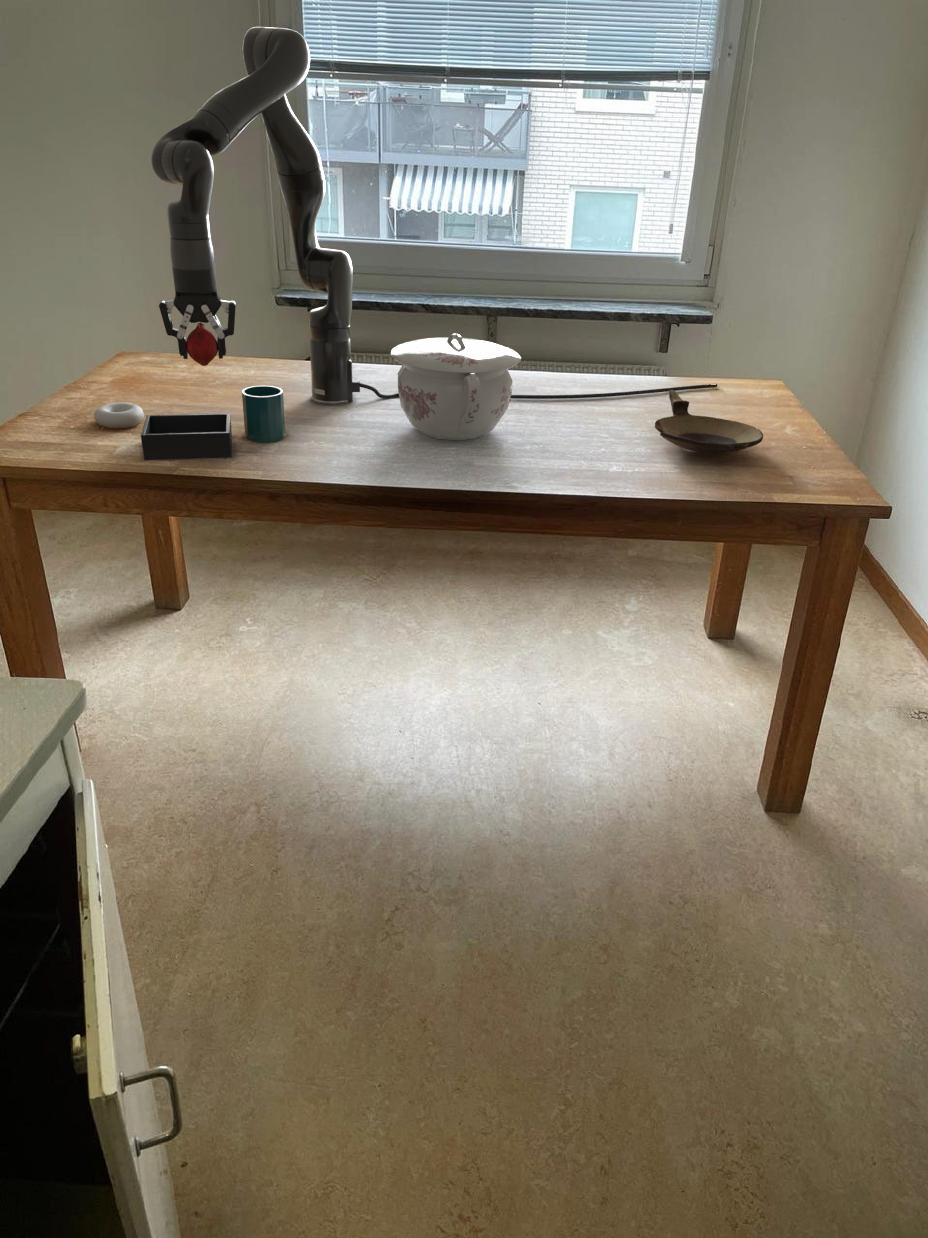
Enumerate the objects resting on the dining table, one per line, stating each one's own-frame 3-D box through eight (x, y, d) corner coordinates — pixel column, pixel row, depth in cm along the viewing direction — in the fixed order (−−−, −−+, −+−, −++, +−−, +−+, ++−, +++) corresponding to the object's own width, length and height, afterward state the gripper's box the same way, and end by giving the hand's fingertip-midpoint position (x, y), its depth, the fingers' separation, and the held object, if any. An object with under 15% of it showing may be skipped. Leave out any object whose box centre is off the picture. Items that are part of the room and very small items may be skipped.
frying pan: (657, 465, 182) (663, 428, 178) (646, 420, 208) (651, 387, 204) (768, 473, 181) (777, 437, 177) (743, 427, 206) (750, 394, 202)
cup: (284, 429, 191) (282, 385, 186) (286, 442, 184) (283, 396, 180) (245, 430, 190) (241, 385, 185) (245, 443, 183) (241, 397, 178)
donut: (125, 433, 185) (154, 419, 193) (122, 417, 183) (152, 403, 191) (85, 426, 187) (115, 412, 195) (82, 410, 186) (113, 397, 194)
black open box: (232, 436, 186) (230, 413, 183) (231, 457, 175) (229, 432, 173) (149, 438, 182) (146, 414, 180) (144, 460, 172) (140, 435, 169)
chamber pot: (427, 404, 211) (429, 313, 201) (534, 425, 201) (542, 331, 191) (364, 436, 189) (363, 337, 179) (481, 462, 179) (488, 357, 169)
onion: (215, 370, 168) (210, 327, 164) (184, 369, 168) (179, 325, 164) (223, 362, 173) (219, 320, 169) (193, 361, 173) (188, 318, 169)
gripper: (149, 267, 157) (162, 363, 165) (233, 268, 160) (242, 362, 168) (153, 260, 163) (165, 353, 172) (234, 260, 166) (242, 352, 174)
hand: (203, 357), depth 170 cm, fingers closed on onion, 6 cm apart
